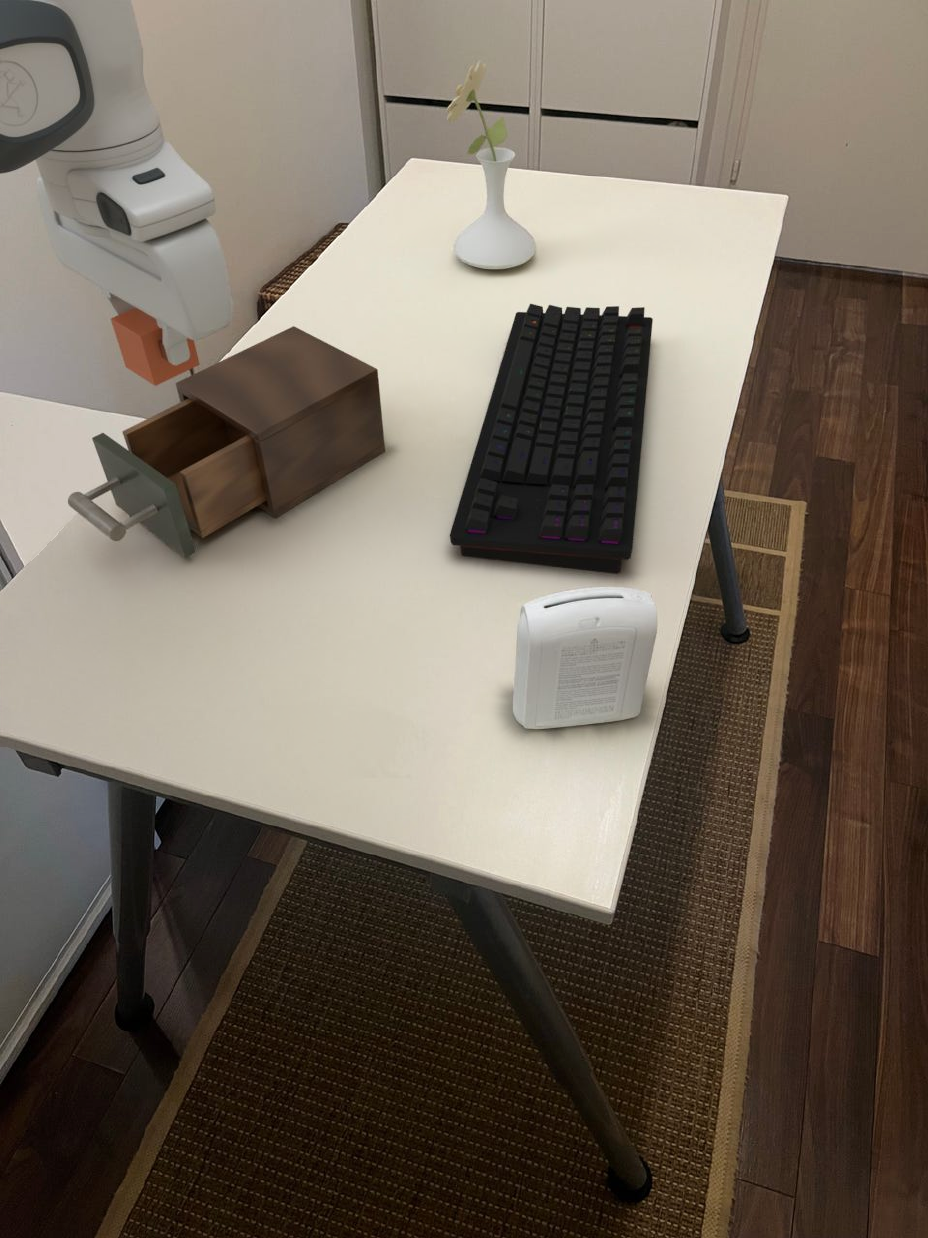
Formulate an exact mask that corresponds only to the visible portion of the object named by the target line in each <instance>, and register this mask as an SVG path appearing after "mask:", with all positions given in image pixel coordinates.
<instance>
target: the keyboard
mask: <svg viewBox="0 0 928 1238" xmlns="http://www.w3.org/2000/svg"><path fill="white" fill-rule="evenodd" d="M645 309H646V307H644V306H642V307H641V306H640V307H631V309H630V311H629V312H628V314H627V316H626V315H620V306H619V305H615V306H606V307H605V309H604V310H603V312H602V314H601V308H600V307H590V306H589V307H585V309H584V311H583V314H582V308H581V307H574V306H566V308H565V311H564V313H563V307H560V306H556V305H553V304H548V306H547V308H546V311H545V312H544V307H543V306H542V305H538V304H535V303H534V304H533V303H529V305H528V307H527V310H526V311H517V312H515V314H514V317H513V318H514V319H513V322H512V326H511V328H510V332H509V335H508V339H507V342H506V345H505V348H504V352H503V356H502V359H501V362H500V365H499V369H498V372H497V376H496V378H495V382H494V385H493V388H492V392H491V396H490V399H489V402H488V404H487V405H488V406H487V409H486V412H485V416H484V419H483V422H482V426H481V430H480V432H479V435H478V439H477V443H476V445H475V448H474V452H473V455H472V459H471V461H470V462H471V463H470V466H469V469H468V473H467V475H466V480H465V482H464V486H463V489H462V493H461V496H460V499H459V502H458V506H457V509H456V514H455V516H454V519H453V522H452V526H451V528H450V533H449V539H450V543H451V545H452V546H459V547H460V555H461V556H462V557H468V558H477V559H487V560H495V561H502V562H503V561H504V562H512V563H513V562H514V563H522V564H528V565H529V564H531V565H537V566H538V565H539V566H548V567H556V568H566V569H567V568H568V569H573V570H574V569H575V570H582V571H590V572H591V571H592V572H601V573H610V574H620V573H621V569H622V563H623V560H624V561H629V560H630V559H632V553H633V546H634V536H635V525H636V514H637V501H638V491H639V480H640V479H639V478H640V467H641V457H642V445H643V434H644V422H645V411H646V399H647V388H648V380H649V379H648V377H649V366H650V355H651V345H652V344H651V343H652V333H653V321H654V319H653V317H650V316H645Z"/></svg>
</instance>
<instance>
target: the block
mask: <svg viewBox="0 0 928 1238" xmlns="http://www.w3.org/2000/svg"><path fill="white" fill-rule="evenodd" d="M110 321H111V325H112V328H113V331H114V334H115V337H116V340H117V343H118V344H117V345H118V347H119V350H120V354H121V356H122V360H123V362H124V365H125V368H126V369H128V370H129V371H131V372H133V373H134V374H136V375H137V376H139V377H140V378H142V379H144V380H145V381H147V382H148V383H149V384H151V385H153V386H154V387H156V386H159V385H161V384H163V383H165V382H167V381H169V380H171V379H173V378H176V377H177V376H179V375H182V374H183V373H186V372H189V371H190V370H192V369H194V368H197V367H198V366H200V364H201V363H200V360H199V356H198V352H197V348H196V344H195V340H191V339H189V338H187V343H188V347H189V351H190V358H189V359H188V360H187V361H185V362H183V363H181V364H179V365H177V366H176V365H173V364H171V363H169V362H168V361H166V360H165V359H163V358H162V355H161V351H160V348H159V345H158V341H160V340H162V339H163V329H162V328H160V327H159V326H158V324H157V321H156V319H155V318H153V317H151V316H150V315H148V314H146V313H144V312H143V311H141V310H139V309H138V308H134V309H132V310H130V311H127V312H125V313H123V314H120V315H118V316H116V315H115V316H113V317H111V318H110Z"/></svg>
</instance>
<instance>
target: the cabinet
mask: <svg viewBox="0 0 928 1238" xmlns="http://www.w3.org/2000/svg"><path fill="white" fill-rule="evenodd" d="M175 387H176V391H177V394H178V398H179V403H180V402H182V401H184V400H186V399H189V398H190V399H191V400H193V401H194V402H196V403H198V404H199V405H201V406H202V407H204V408H206V409H207V410H209V411H210V412H212V413H214V414H215V415H217V416H218V417H220V418H222V419H223V420H225V421H226V422H228V423H230V424H231V425H233V426H234V427H236V428H238V429H239V430H241V431H242V432H244V433H246V434H247V435H249V436H250V437H252V438H254V443H255V448H256V453H257V457H258V462H259V467H260V471H261V476H262V481H263V485H264V490H265V495H266V499H267V500H266V501H265V502H263V503H261V504H259V505H258V506H257V507H258V508H259V509H261V511H264V512H265V513H267V514H268V515H269V516H271V517H273V518H274V519H277V518H278V517H280V516H282V515H283V514H286V513H287V512H288V511H290V510H291V509H293V508H295V507H296V506H298V505H299V504H302V503H303V502H305V501H307V500H308V499H309V498H311V497H313V496H315V495H316V494H318V493H320V492H321V491H323V490H324V489H326V488H327V487H330V486H331V485H332V484H335V483H336V482H338V481H339V480H341V479H343V478H344V477H345V476H347V475H349V474H351V473H353V472H354V471H355V470H357V469H359V468H361V467H362V466H364V465H365V464H367V463H368V462H371V461H372V460H374V459H375V458H377V457H378V456H380V455H382V454H384V453H385V452H386V448H385V447H386V446H385V434H384V423H383V413H382V403H381V402H382V401H381V391H380V390H381V389H380V380H379V371H378V369H377V368H376V367H375V366H373V365H370V364H368V363H367V362H365V361H362V360H361V359H359V358H357V357H355V356H353V355H351V354H350V353H348V352H345V351H343V350H341V349H339V348H338V347H336V346H334V345H332V344H329V343H327V342H326V341H324V340H322V339H320V338H318V337H316V336H314V335H312V334H310V333H308V332H306V331H304V330H302V329H300V328H298V327H297V326H295V325H292V326H290V327H289V328H287V329H284V330H283V331H281V332H278V333H277V334H275V335H272V336H270V337H268V338H266V339H264V340H262V341H260V342H258V343H255V344H253V345H252V346H250V347H246V348H245V349H243V350H241V351H239V352H237V353H235V354H233V355H231V356H229V357H227V358H224V359H222V360H220V361H218V362H216V363H214V364H212V365H210V366H208V367H206V368H204V369H202V370H200V371H198V372H195V373H193V374H191V375H190V376H188V377H185V378H183V379H181V380H179V381H177V382H175Z"/></svg>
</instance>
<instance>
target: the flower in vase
mask: <svg viewBox="0 0 928 1238" xmlns="http://www.w3.org/2000/svg"><path fill="white" fill-rule="evenodd" d="M486 71H487V64H486V63H485V62H482V59H479V60H478V62H477V64H476V66H474V64H472V65H471V66H470V67H469V70H468V72H467V75H466V77H465V80H464V84H459V85H458V86H457V87H456V89H455V91H454V92H455V95H456V96H457V97H455V98H454V99H453V100H452V101H451V103H450V104H449V105H448V106H447V108H446V113H448V115H447V116H446V121H449V123H454V122H456V121H458V120H459V118H460V117H461V116H462V115H463V114H464V113H465V112H466V110H467V108H469V106H470V105H471V104H472V102H474V104H475V107H476V108H477V111H478V113H479V116H480V119H481V122H482V125H483V128H484V132H485V134H481V135H479V136H478V137H476V138H475V139H474V140H473V141H472V142H471V144H470V146H468V150H467V151H466V156H469V155H474V154H475V156H476V158H477V159H476V160H478V162H479V163H480V165H481V167H482V169H483V170H482V171H483V172H484V177H485V186H486V205H485V209H484V212H483V214H482V215H481V216H480V217H478V218H477V219H475V221H473V222H472V223H471V224H470V225H468V226H467V227H466V228H464V229H463V230H462V231H461V232H460V234H458V236H456V239H455V241H454V244H453V252H454V253H455V255H456V257H457V258H458V259H459V260H460V261H461V262H462V263H465V264H466V265H469V266H471V267H475V268H479V269H484V270H505V269H510V268H514V267H519V266H521V265H523V264H524V263H525V264H526V263H527V262H528V261H529V260H530V259H531V258H532V257H533V256H534V255H535V254H536V251H537V244H536V241H535V238H534V237H533V236H532V234H531V233H530V232H529V231H528V230H527V229H526V228H525V227H524V226H522V225H521V224H520V223H518V222H517V221H516V220H514V219H513V218H512V217H511V216H510V215H509V214H508V212H507V211H506V208H505V201H504V200H505V197H504V196H505V183H506V177H507V173H508V170H509V167H510V164H511V163H512V161H513V160H514V159H515V157H516V153H515V152H514V151H513V150H512V149H509V148H507V147H499V146H498V145H500V144H503V142H505V141H506V139H507V137H508V132H507V126H506V123H505V119H504V116H501V117H500V118H499V119H498V120H497V121H496V122H494V123H493V124H492V125H491V126H490V127H489V128H488V126H487V122H486V118H485V116H484V114H483V111H482V109H481V106H480V104H479V101H478V99H477V93H478V91H479V89H480V88H481V84H482V82H483V79H484V76H485V74H486ZM486 140H487V142H488V145H489V147H486V148H482V146H483V145H484V143H485V142H486ZM497 146H498V147H497Z"/></svg>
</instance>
